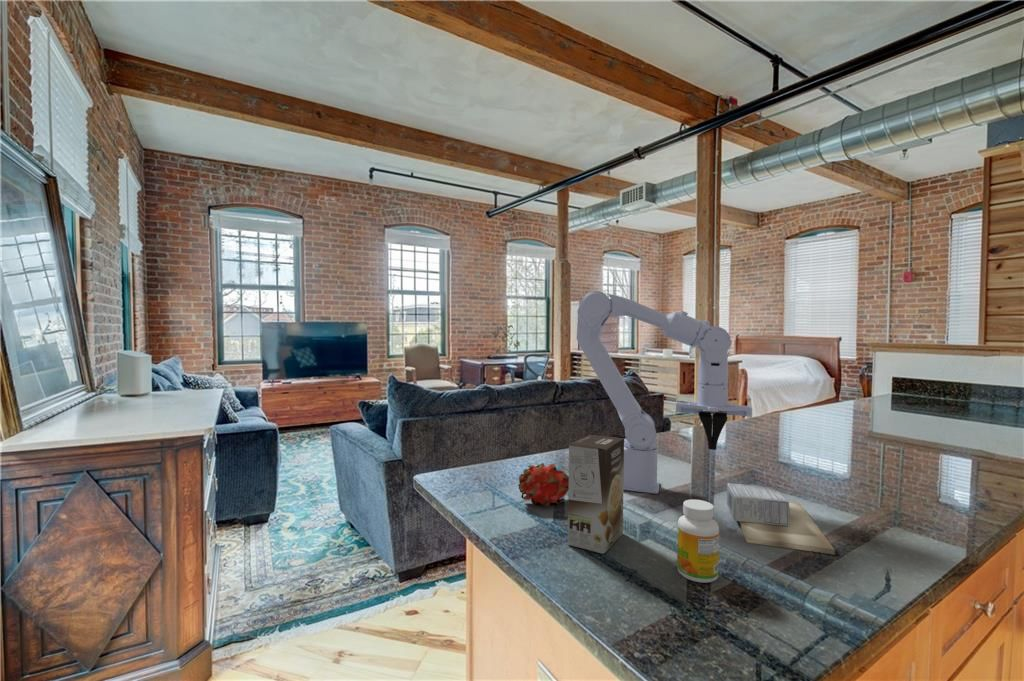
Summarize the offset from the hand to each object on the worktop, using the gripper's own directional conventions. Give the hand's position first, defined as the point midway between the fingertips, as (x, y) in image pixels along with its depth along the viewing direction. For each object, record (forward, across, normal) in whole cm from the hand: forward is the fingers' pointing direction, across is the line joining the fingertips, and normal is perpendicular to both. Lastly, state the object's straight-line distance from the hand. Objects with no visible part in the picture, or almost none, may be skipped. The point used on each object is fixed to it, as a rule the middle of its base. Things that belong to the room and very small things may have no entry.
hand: (712, 448), depth 97 cm
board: (+9, +10, -13) cm, 19 cm away
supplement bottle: (+10, -4, -36) cm, 38 cm away
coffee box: (+10, -20, -30) cm, 37 cm away
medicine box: (+6, +2, -13) cm, 14 cm away
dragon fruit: (+10, -32, -17) cm, 37 cm away
